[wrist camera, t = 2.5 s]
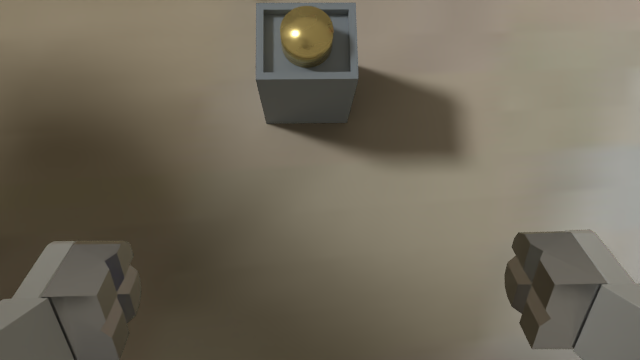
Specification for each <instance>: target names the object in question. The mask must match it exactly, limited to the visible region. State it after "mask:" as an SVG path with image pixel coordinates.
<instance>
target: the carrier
mask: <svg viewBox="0 0 640 360" xmlns="http://www.w3.org/2000/svg"><path fill="white" fill-rule="evenodd" d="M300 6H313V7H316V8H319V9H321V10H322V11H324V12H325V13H326V14H327V15H328V16H329V17H330V19H331V21H332V24H333V29H334V33H333V42H332V49H331V53H330V55H329V57H328V58H327V59H326V60H325V61H324V62H323V63H322V64H320V65H318V66H316V67H312V68H303V67H299V66H296V65H294V64H292V63H291V62H290V61H289V60H288V59H287V58H286V57H285V55H284V53H283V51H282V45H281V35H280V26H281V22H282V20H283V18H284V17H285V15H286V14H287V13H288V12H290V11H291V10H293V9H294V8H297V7H300ZM358 79H359V78H358V53H357V27H356V3H256V82H257V87H258V91H259V95H260V99H261V103H262V107H263V111H264V115H265V120H266V124H271V123H347V120H348V117H349V113H350V109H351V105H352V101H353V98H354V94H355V90H356V86H357V83H358Z"/></svg>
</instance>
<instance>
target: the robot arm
mask: <svg viewBox="0 0 640 360" xmlns="http://www.w3.org/2000/svg"><path fill="white" fill-rule="evenodd" d="M512 249H513V251H514V253H515V254H516V256H515V257H513V258H512V259H511V260H510V261H509V262H508V263H507V266H506V271H505V289H506V293H507V297H508V299H509V302H510V304H511V306H512V307H513V308H515V309H516V310H517V311H519V312H520V313H522V316H521V319H520V322H519V323H520V325H521V327H522V330H523V332H524V334H525V336H526V338H527V340H528V342H529V344H530V346H531V348H532V349H574V350H573V351H574V352H575V353H576V354H577V355H578V356H579V357H581V358H582V359H583V360H640V284H636V283H635V282H634V281H633V279H632V278H631V277H630V276H629V274H628V273H627V272H626V271H625V269H624V268H623V267H622V266H621V264H620V263H619V262H618V261H617V259H616V258H615V257H614V255H613V254H612V253H611V252H610V250H609V249H608V248H607V247H606V245H605V244H604V243H603V242H602V240H601V239H600V238H599V236H598V235H597V234H596V233H595V232H593V231H591V230H569V231H555V232H518V234H517V235H516V236H515V238H514V241H513V244H512ZM133 256H134V255H133V252H132V249H131V245H130V243H128V242H127V241H53V242H51V243H50V244H48V245H47V246H46V247H45V249H44V250H43V252H42V253H41V255H40V256H39V258H38V259H37V261H36V262H35V264H34V265H33V267H32V268H31V270H30V271H29V273H28V274H27V276H26V277H25V279H24V280H23V282H22V283H21V285H20V286H19V288H18V290H17V291H16V293H15V294H14V296H13V297H12V299H3V300H1V301H0V360H120V358H121V355H122V352H123V350H124V347H125V344H126V341H127V339H128V336H129V329H128V326H127V323H128V322H129V321H130V320H131V319H132V318H134V317H135V316H136V314H137V311H138V308H139V305H140V298H141V281H140V276H139V273H138V271H137V270H136V269H135V268H133V267H132V266H131V265H130V263H131V261H132V259H133Z"/></svg>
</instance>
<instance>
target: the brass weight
mask: <svg viewBox="0 0 640 360" xmlns="http://www.w3.org/2000/svg"><path fill="white" fill-rule="evenodd" d="M333 33H334V29H333V24H332V21H331V19H330V17H329V16H328V15H327V14H326V13H325V12H324V11H322V10H321V9H319V8H316V7H313V6H300V7H297V8H294V9H293V10H291V11H290V12H288V13H287V14H286V15H285V17H284V18H283V20H282V22H281V26H280V35H281V45H282V51H283V53H284V55H285V57H286V58H287V59H288V60H289V61H290V62H291V63H292V64H294V65H296V66H299V67H303V68H312V67H316V66H318V65H320V64H322V63H323V62H324V61H325V60H326V59H327V58H328V57H329V55H330V53H331V49H332V42H333Z"/></svg>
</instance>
